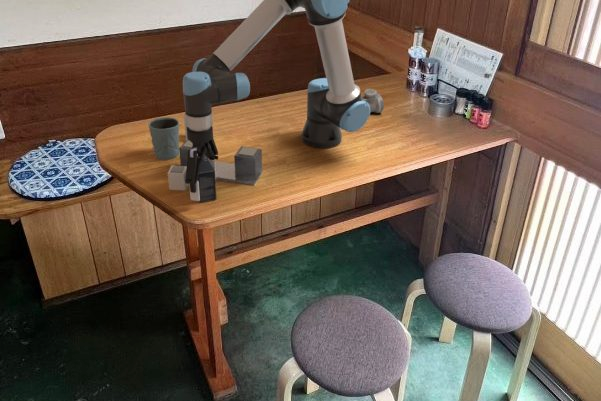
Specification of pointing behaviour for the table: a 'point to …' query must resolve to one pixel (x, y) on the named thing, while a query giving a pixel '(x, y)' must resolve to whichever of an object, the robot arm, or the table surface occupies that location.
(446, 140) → the table surface
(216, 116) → the table surface
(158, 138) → the grey green plant pot
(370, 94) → the pipe fitting
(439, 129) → the table surface
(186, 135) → the white slotted bracket
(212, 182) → the box
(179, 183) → the block
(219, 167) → the rail plate
